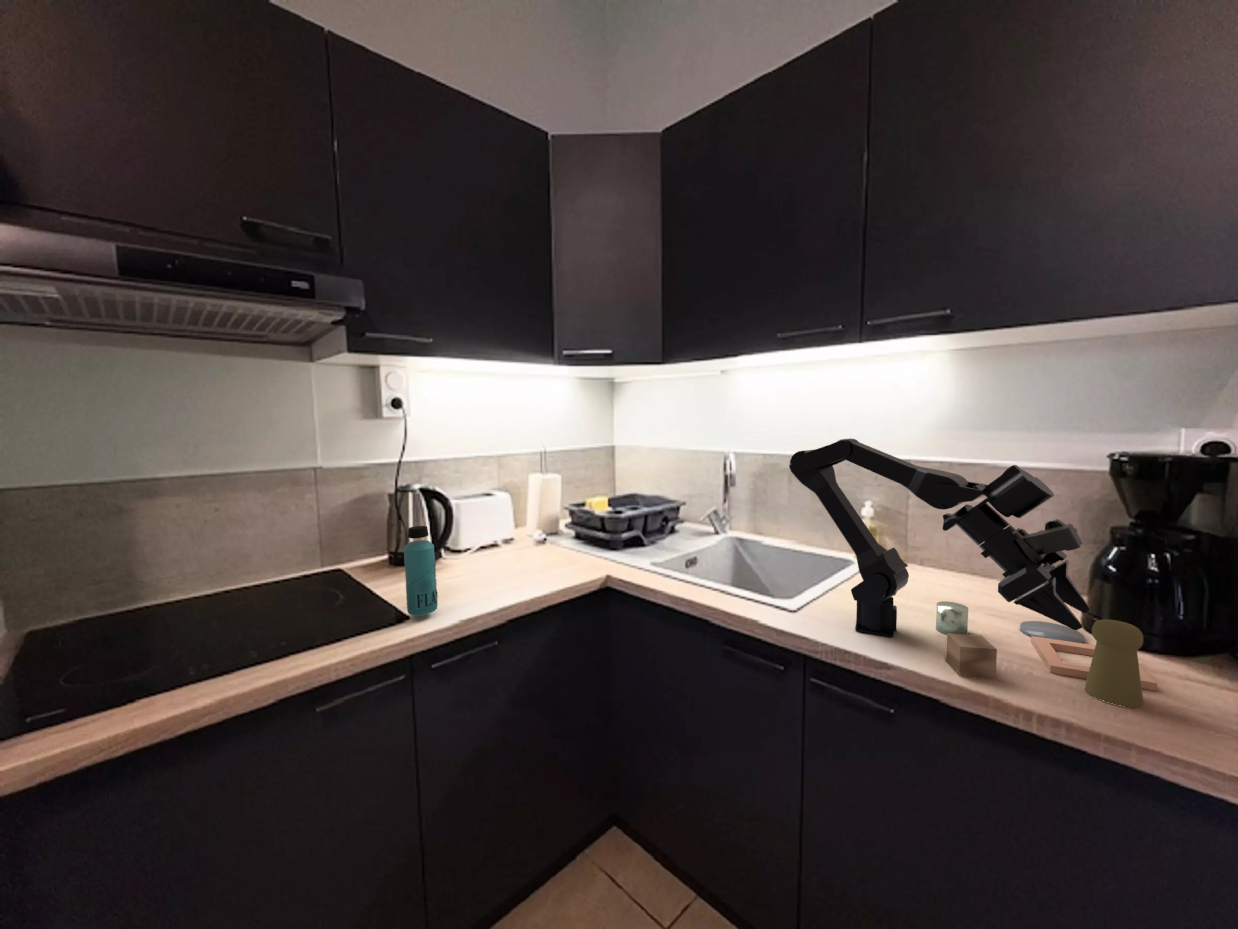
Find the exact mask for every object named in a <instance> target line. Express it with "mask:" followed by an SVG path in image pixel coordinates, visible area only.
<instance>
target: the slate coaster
mask: <svg viewBox="0 0 1238 929" xmlns="http://www.w3.org/2000/svg"><path fill="white" fill-rule="evenodd" d="M1019 630H1020V632H1022V634H1024V635H1026V636H1027V637H1029V638H1031V636H1035V637H1042V638H1049V639H1055V640H1062V641H1069V642H1076V643H1083V644H1085V638H1086V637H1085V636H1084V634H1083V633H1081V632H1080V631H1078V630H1073V629H1071V628H1069V627H1067V626H1065V625H1063V624H1060V623H1053V622H1048V621H1042V620H1041V621H1039V620H1026V621H1022V622H1021V623H1020V624H1019Z"/></svg>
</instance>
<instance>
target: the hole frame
mask: <svg viewBox="0 0 1238 929" xmlns="http://www.w3.org/2000/svg"><path fill="white" fill-rule="evenodd" d="M1030 643H1031V645H1032V646H1033V647H1034V649H1035V651H1036V653H1037V654H1038V656H1039V658H1040V659H1041V661H1042V662H1043V663H1044V665H1045V667H1046V669H1047V670H1048V672H1049V673H1051V674H1055V675H1063V676H1069V677H1075V678H1079V679H1086V680H1087V677H1088V673H1089V670H1090V666H1087V665H1081V664H1075V663H1068V662H1063V660H1062V658H1061V657H1060V655H1058V652H1064V653H1072V654H1076V655H1077V654H1078V655H1084V656H1091V657H1093V654H1094V650H1095V646H1096V644H1089V643H1088V644H1087V643H1076V642H1069V641H1062V640H1055V639H1049V638H1042V637H1035V636H1031V637H1030ZM1056 651H1058V652H1056ZM1139 672H1140V680H1141V688H1142V689H1143V690H1150V691H1155V692H1157V688H1158V687H1157V686H1158V685H1157V684H1158V683H1157V682H1156V681H1155V680H1154V679H1153V678H1152V677H1151V676H1150V674H1148V672H1146V670H1144V669H1143V668H1142V667H1141V665H1139Z"/></svg>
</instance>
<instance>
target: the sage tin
mask: <svg viewBox="0 0 1238 929" xmlns="http://www.w3.org/2000/svg"><path fill="white" fill-rule="evenodd" d="M935 615H936V616H935V618H936V619H935V630H936V631H937V632H939V633H940V634H943V635H945V636H947V633H952V634H967V635H968V634H969V632H968V630H969V607H968V606H967V605H964V604H963V603H962V604H961V603H959V602H955V601H946V600H945V601H938V602H937V603H936V614H935Z"/></svg>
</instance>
